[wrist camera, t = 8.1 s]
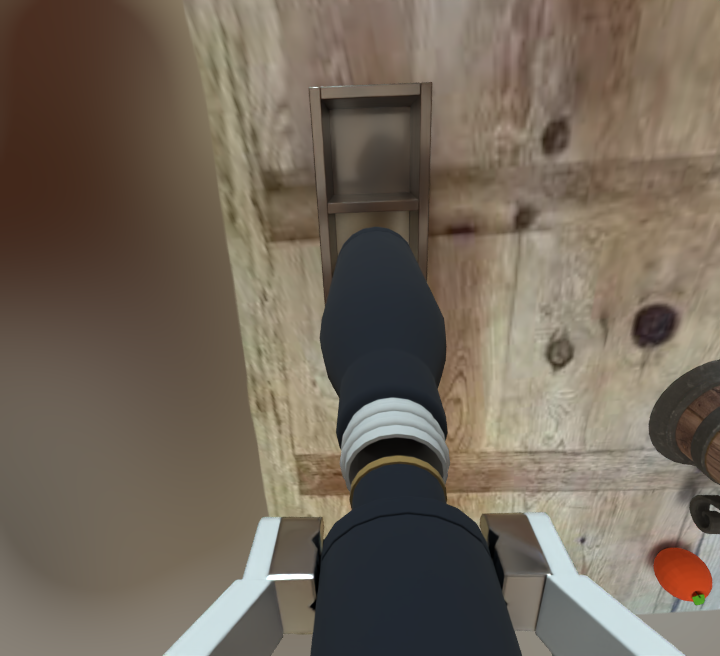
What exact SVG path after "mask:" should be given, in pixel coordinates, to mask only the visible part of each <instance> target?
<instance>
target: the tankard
mask: <svg viewBox="0 0 720 656" xmlns="http://www.w3.org/2000/svg"><path fill="white" fill-rule="evenodd" d="M649 435H650V438H651V441H652V443H653V445H654V446H655V448H656V449H657V451H658V452H660V453H661V454H662V455H663V456H664V457H666V458H668V459H670V460H672V461H674V462H678V463H682V464H689V465H694V466H696V467H697V468H698V469H699V470H701V471H702V472H703V473H704V474H705V475H706V476H707V477H709V478H710V479H711V480H712V481H713V482H715V483H717V484H719V485H720V360H717V361H713V362H709V363H707V364H704V365H702V366H699V367H697V368H695V369H693V370H691V371H690V372H688V373H686V374H684V375H683V376H682V377H680V378H679V379H678V380H676V381H675V382H674V383H672V384H671V385H670V387H669V388H668V389H667V390H666V391H665V392H664V393H663V394H662V395H661V397H660V398H659V400H658V401H657V403H656V404H655V407H654V409H653V411H652V413H651V417H650V422H649ZM710 504H711V505H713V506H715V507H716V508H718V509H719V510H720V496H718V495H697V496H695V497H694V498H692V500H691V502H690V507H689V508H690V513H691V516H692V519H693V521H694V523H695V524H696V526H697V527H698V528H699V529H700V530H701V531H702V532H704V533H707V534H720V513H719V512H717V511H710V510H709V508H710Z"/></svg>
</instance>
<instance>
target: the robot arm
mask: <svg viewBox="0 0 720 656" xmlns="http://www.w3.org/2000/svg"><path fill="white" fill-rule="evenodd" d="M480 528H481V532H482V534H483V536H484V538H485V539H486V542H487V545H488V548H489V551H490V554H491V559H492V561H493V564H494V567H495V570H496V574H497V577H498V580H499V583H500V586H501V590H502V593H503V596H504V599H505V602H506V606H507V609H508V612H509V615H510V618H511V622H512V625H513V628H514V631H536V632H535V633H536V635H537V636H538V637H539V638H540V640H541V641H542V642H543V643H544V644H545V645H546V647H547V648H548V649H549V650H550V651H551V653H552V654H553V655H554V656H686V655H685V654H683V653H682V652H681V651H680V650H678V649H677V648H676V647H675V646H673V645H672V644H671V643H670V642H668V641H667V640H666V639H665V638H664V637H662V636H661V635H660V634H659V633H657V632H656V631H655V630H654V629H652V628H651V627H650V626H649V625H647V624H646V623H645V622H644V621H642V620H641V619H640V618H639V617H637V616H636V615H635V614H634V613H632V612H631V611H630V610H629V609H627V608H626V607H625V606H624V605H622V604H621V603H620V602H619V601H617V600H616V599H615V598H614V597H612V596H611V595H610V594H609V593H607V592H606V591H605V590H604V589H603V588H601V587H600V586H599V585H598V584H596V583H595V582H594V581H593V580H591V579H590V578H589V577H588V576H586V575H579V574H578V572H577V570H576V568H575V566H574V564H573V562H572V560H571V558H570V556H569V554H568V552H567V551H566V549H565V547H564V545H563V543H562V541H561V539H560V537H559V535H558V533H557V531H556V529H555V527H554V525H553V523H552V521H551V519H550V517H549V516H548V515H547V514H546V513H545V512H532V513H490V514H482V515H481V518H480ZM323 536H324V521H323V518H322V517H262V519H261V520H260V522H259V524H258V527H257V531H256V535H255V538H254V541H253V545H252V548H251V552H250V555H249V558H248V562H247V565H246V569H245V572H244V575H243V579H242V580H236V581H235V582H234V583H233V584H232V585H231V586H230V587H229V588H228V589H227V590H226V591H225V592H224V593H223V594H222V595H221V596H220V597H219V598H218V599H217V600H216V601H215V602H214V603H213V604H212V605H211V606H210V607H209V608H208V609H207V610H206V612H205V613H203V615H202V616H201V617H200V618H199V619H198V620H197V621H196V622H195V623H194V624H193V625H192V626H191V627H190V628H189V629H188V630H187V631H186V632H185V633H184V634H183V635H182V636H181V637H180V639H178V640H177V641H176V642H175V643H174V644H173V645H172V646H171V648H170V649H169V650H168V651H167V652H166V653H165V654H164V655H163V656H271V655H272V653H273V652H274V650H275V648H276V647H277V645H278V644H279V642H280V641H281V639H282V638H283V634H292V633H313V627H314V618H315V609H316V600H317V591H318V582H319V574H320V562H321V555H322V548H323V542H324V539H323Z"/></svg>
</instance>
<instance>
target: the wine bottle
mask: <svg viewBox="0 0 720 656" xmlns="http://www.w3.org/2000/svg"><path fill="white" fill-rule="evenodd" d="M320 343H321V350H322V354H323V358H324V362H325V367H326V371H327V375H328V378H329V380H330V382H331V384H332V386H333V388H334V389H335V391H336V393H337V395H338V396H339V398H340V399H339V409H338V418H337V428H336V434H337V438H338V442H339V446H340V449H341V451H342V452H341V458H340V467H341V471H342V475H343V478H344V479H345V481H346V485H347V489H348V490H349V491H350V504H351V508H352V511H350V512H349V513H348V514H346V515H345V516H344V517H342V518H341V519H340V520H339V521H337V522H336V523H335V524H334V525H333V527H332V529H331V530H330V532H329V533H328V535H327V536H326V538H325V540H324V542H323V548H322V555H321V562H320V574H319V582H318V591H317V600H316V609H315V618H314V627H313V637H312V646H311V655H310V656H522V654H521V650H520V648H519V644H518V641H517V638H516V634H515V631H514V628H513V625H512V622H511V618H510V615H509V612H508V609H507V606H506V602H505V599H504V596H503V593H502V590H501V586H500V583H499V580H498V577H497V574H496V570H495V567H494V564H493V561H492V559H491V554H490V551H489V548H488V545H487V542H486V539H485V538H484V536H483V534H482V532H481V531H480V529H479V527H478V525H477V524H476V522H474V521H473V520H472V519H471V518H469V517H468V516H467V515H466V514H464V513H463V512H462V511H461V510H459V509H458V508H456V507H453V506H450V505H448V504H446V502H447V494H446V487H445V483H446V480H447V477H448V473H447V472H448V469H449V465H450V459H449V450H448V447H447V446H446V444H445V440H446V437H447V433H448V431H447V422H446V416H445V412H444V409H443V406H442V403H441V399H440V396H439V393H438V386H439V383H440V380H441V376H442V373H443V369H444V365H445V361H446V334H445V325H444V318H443V315H442V313H441V311H440V309H439V307H438V305H437V303H436V301H435V299H434V297H433V294H432V292H431V290H430V288H429V286H428V284H427V282H426V280H425V278H424V275H423V273H422V271H421V269H420V267H419V265H418V263H417V261H416V259H415V256H414V254H413V252H412V250H411V248H410V246H409V244H408V242H407V241H406V240H405V239H404V238H403V237H402V236H401V235H400V234H398V233H396V232H394V231H392V230H390V229H388V228H382V227H370V228H365V229H362V230H360V231H358V232H356V233H354V234H352V235H351V236H350V238H349V239H348V240H347V241H346V242H345V243H344V244H343V246H342V248H341V250H340V252H339V255H338V258H337V262H336V266H335V270H334V274H333V278H332V282H331V286H330V290H329V294H328V298H327V301H326V305H325V309H324V313H323V317H322V323H321V331H320Z"/></svg>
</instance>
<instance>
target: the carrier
mask: <svg viewBox="0 0 720 656" xmlns="http://www.w3.org/2000/svg"><path fill="white" fill-rule="evenodd" d="M309 98H310V111H311V125H312V138H313V152H314V165H315V179H316V192H317V206H318V219H319V233H320V246H321V260H322V273H323V287H324V300H325V305H326V301H327V298H328V294H329V290H330V286H331V282H332V278H333V274H334V270H335V266H336V262H337V258H338V255H339V252H340V250H341V248H342V246H343V244H344V243H345V242H346V241H347V240H348V239H349V238H350V236H351V235H352V234H354V233H356V232H358V231H360V230H362V229H365V228H370V227H382V228H388V229H390V230H392V231H394V232H396V233H398V234H400V235H401V236H402V237H403V238H404V239H405V240H406V241H407V242H408V244H409V246H410V248H411V250H412V252H413V254H414V256H415V259H416V261H417V263H418V265H419V267H420V269H421V271H422V273H423V275H424V278H425V280H426V282H427V258H428V221H429V184H430V148H431V111H432V82H422V83H399V84H377V85H354V86H331V87H310V88H309Z"/></svg>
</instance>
